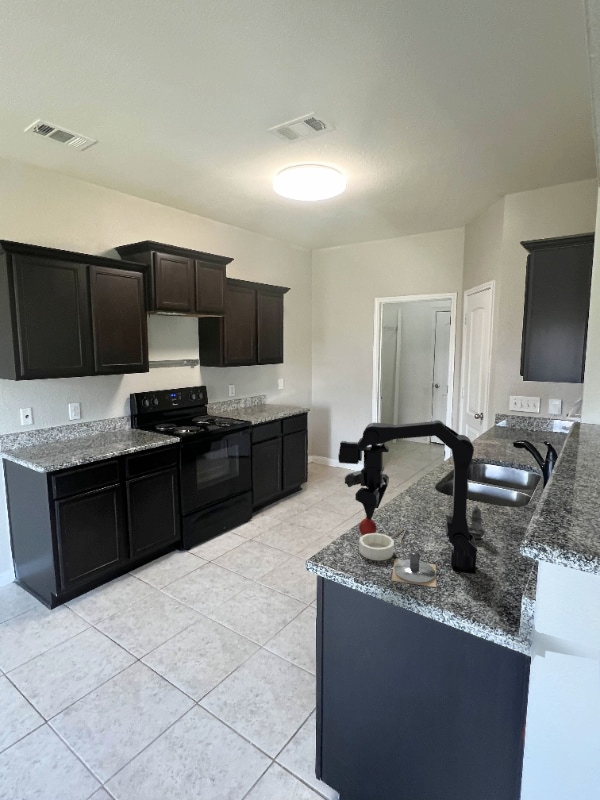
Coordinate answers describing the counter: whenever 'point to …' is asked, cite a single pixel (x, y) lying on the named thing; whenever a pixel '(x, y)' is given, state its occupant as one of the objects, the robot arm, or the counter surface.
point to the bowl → (376, 546)
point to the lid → (414, 570)
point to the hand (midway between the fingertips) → (372, 513)
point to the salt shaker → (476, 525)
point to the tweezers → (398, 533)
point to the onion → (367, 526)
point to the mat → (431, 583)
